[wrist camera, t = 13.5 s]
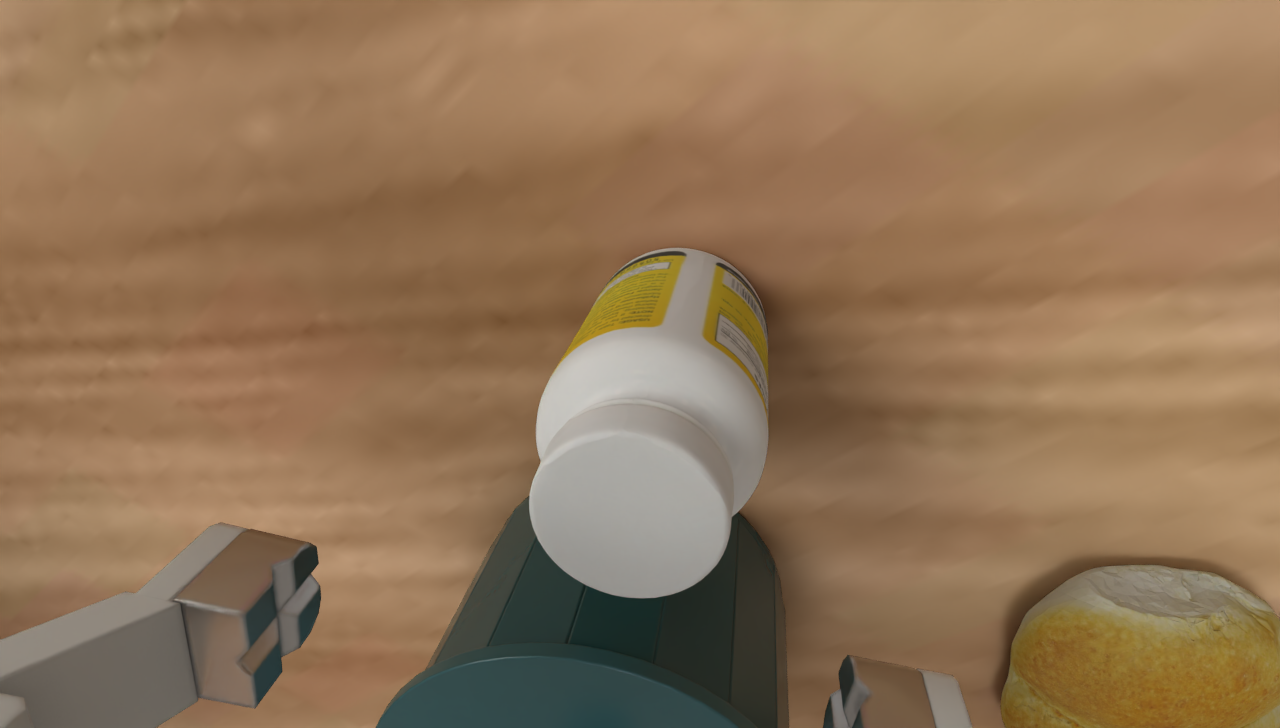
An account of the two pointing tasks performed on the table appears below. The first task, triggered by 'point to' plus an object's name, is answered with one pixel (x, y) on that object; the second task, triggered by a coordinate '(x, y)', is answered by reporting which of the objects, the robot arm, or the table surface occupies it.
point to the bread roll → (1145, 654)
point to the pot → (640, 617)
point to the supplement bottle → (654, 426)
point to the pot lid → (554, 692)
